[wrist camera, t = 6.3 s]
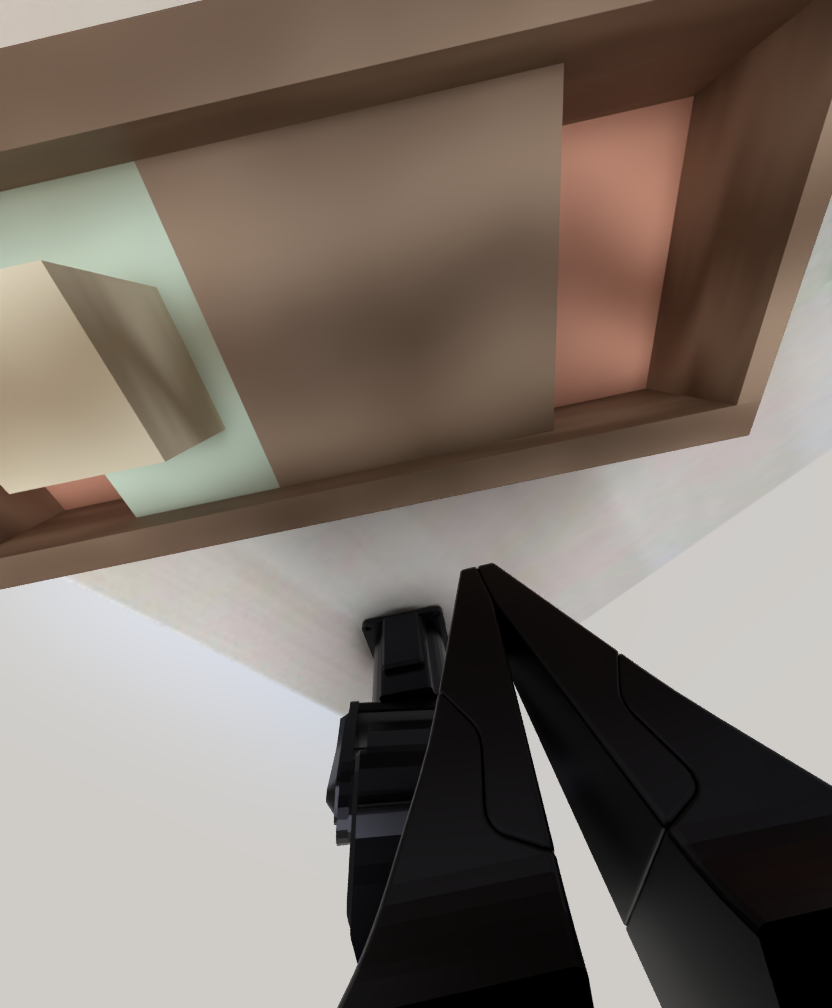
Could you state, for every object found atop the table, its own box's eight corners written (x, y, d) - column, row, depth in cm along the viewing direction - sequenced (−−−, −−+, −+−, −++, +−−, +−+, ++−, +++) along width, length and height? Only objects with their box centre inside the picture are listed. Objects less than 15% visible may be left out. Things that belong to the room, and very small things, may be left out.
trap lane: (653, 410, 18) (748, 435, 13) (73, 531, 19) (-36, 596, 14) (720, 38, 12) (960, -181, 7) (-179, 244, 12) (-553, 179, 7)
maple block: (226, 428, 13) (165, 461, 9) (111, 452, 13) (9, 493, 9) (156, 287, 11) (40, 260, 7) (17, 317, 11) (-167, 305, 7)
